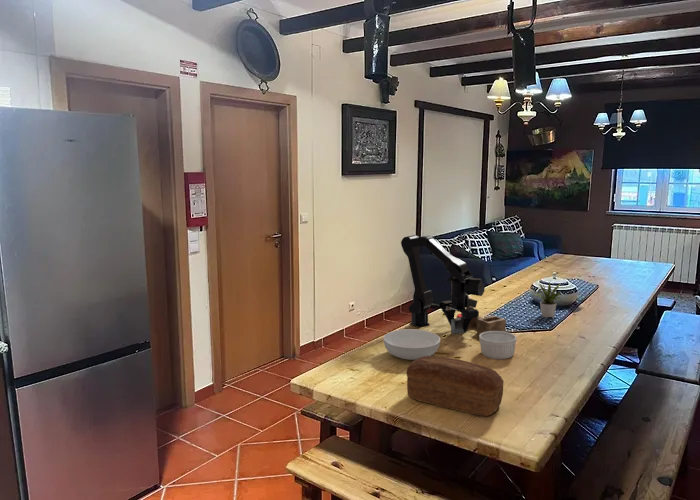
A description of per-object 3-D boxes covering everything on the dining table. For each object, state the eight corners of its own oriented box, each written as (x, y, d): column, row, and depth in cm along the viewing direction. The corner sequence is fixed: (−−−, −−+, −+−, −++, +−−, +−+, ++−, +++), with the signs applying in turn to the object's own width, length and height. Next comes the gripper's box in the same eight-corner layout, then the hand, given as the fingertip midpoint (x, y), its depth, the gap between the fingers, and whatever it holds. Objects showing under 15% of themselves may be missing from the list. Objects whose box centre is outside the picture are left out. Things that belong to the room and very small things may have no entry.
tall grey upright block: (454, 334, 217) (454, 320, 216) (450, 333, 219) (450, 319, 218) (466, 332, 220) (466, 318, 219) (462, 330, 222) (462, 317, 221)
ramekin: (471, 351, 198) (471, 333, 196) (500, 345, 203) (500, 328, 201) (494, 363, 185) (494, 344, 184) (524, 357, 191) (524, 338, 189)
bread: (421, 383, 171) (420, 347, 169) (507, 403, 155) (508, 363, 153) (400, 400, 159) (399, 361, 157) (491, 423, 144) (492, 380, 142)
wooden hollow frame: (488, 337, 212) (489, 316, 211) (458, 325, 229) (458, 306, 227) (505, 333, 216) (505, 313, 215) (474, 322, 233) (474, 303, 231)
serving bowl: (403, 370, 182) (403, 351, 181) (373, 352, 200) (372, 334, 199) (452, 358, 191) (452, 340, 190) (418, 342, 210) (418, 325, 208)
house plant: (527, 319, 235) (528, 283, 232) (529, 310, 247) (530, 276, 245) (561, 321, 229) (563, 285, 227) (562, 313, 242) (563, 278, 239)
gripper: (489, 294, 212) (488, 331, 215) (459, 285, 229) (459, 320, 231) (467, 298, 207) (467, 336, 210) (438, 289, 223) (438, 324, 226)
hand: (458, 329), depth 219 cm, fingers open, 8 cm apart
